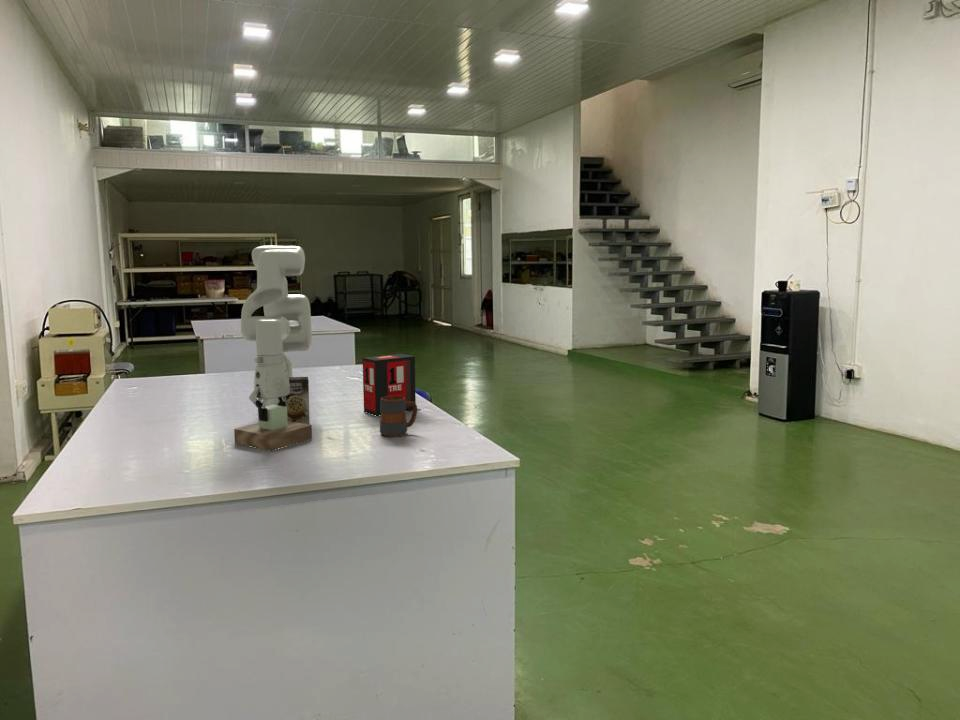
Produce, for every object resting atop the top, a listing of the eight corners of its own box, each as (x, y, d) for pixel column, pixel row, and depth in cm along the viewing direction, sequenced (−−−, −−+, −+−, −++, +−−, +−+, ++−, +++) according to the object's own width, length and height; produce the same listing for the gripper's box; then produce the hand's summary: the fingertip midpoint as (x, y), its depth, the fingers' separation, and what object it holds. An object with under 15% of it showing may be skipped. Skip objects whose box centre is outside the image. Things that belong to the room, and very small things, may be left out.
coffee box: (281, 428, 230) (279, 380, 228) (281, 424, 236) (279, 377, 234) (310, 427, 233) (308, 378, 230) (309, 422, 239) (307, 375, 236)
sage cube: (258, 427, 213) (257, 408, 212) (274, 423, 218) (273, 404, 217) (272, 430, 209) (271, 410, 209) (287, 426, 214) (286, 406, 213)
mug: (420, 435, 221) (419, 399, 219) (381, 438, 218) (380, 401, 216) (415, 429, 229) (414, 394, 227) (378, 431, 226) (377, 396, 224)
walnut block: (234, 445, 212) (234, 428, 211) (276, 433, 225) (275, 418, 224) (271, 452, 203) (270, 436, 202) (312, 440, 216) (311, 425, 216)
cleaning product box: (402, 406, 265) (401, 353, 262) (415, 410, 258) (414, 356, 255) (363, 412, 254) (362, 357, 252) (376, 416, 248) (375, 360, 245)
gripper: (255, 364, 201) (258, 425, 204) (300, 357, 216) (303, 414, 218) (237, 362, 205) (241, 422, 208) (284, 355, 220) (286, 411, 222)
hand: (272, 417), depth 213 cm, fingers open, 6 cm apart
